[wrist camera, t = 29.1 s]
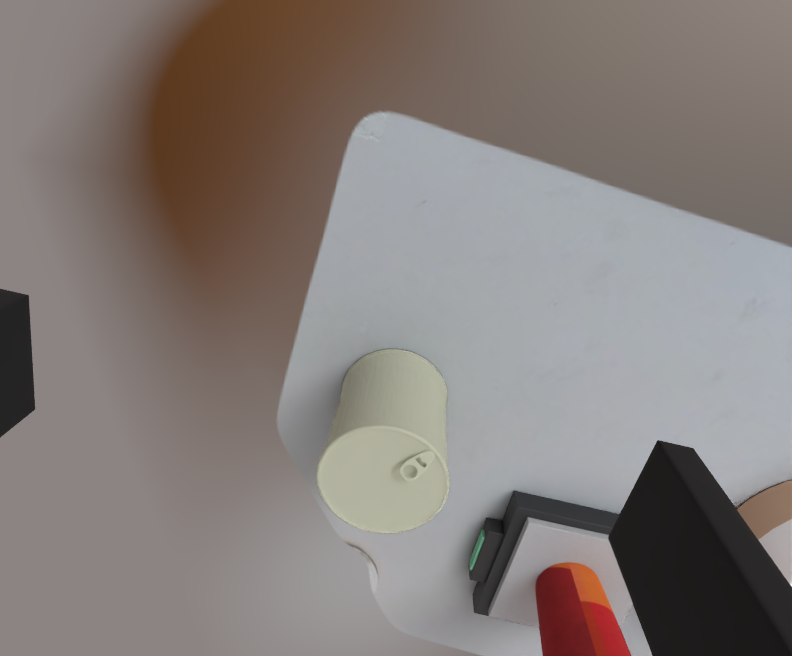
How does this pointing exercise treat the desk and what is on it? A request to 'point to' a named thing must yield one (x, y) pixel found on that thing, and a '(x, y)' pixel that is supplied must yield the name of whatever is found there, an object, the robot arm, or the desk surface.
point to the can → (387, 444)
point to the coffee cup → (576, 614)
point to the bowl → (773, 523)
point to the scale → (541, 556)
